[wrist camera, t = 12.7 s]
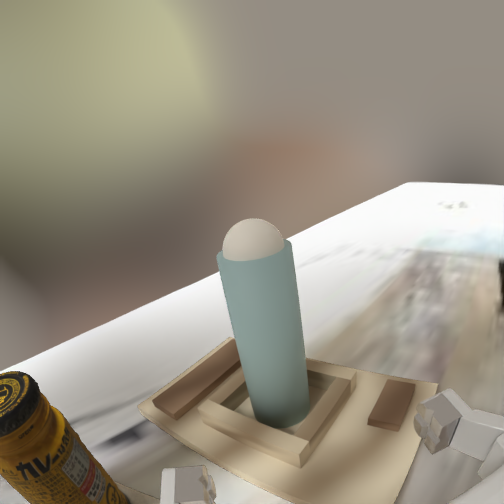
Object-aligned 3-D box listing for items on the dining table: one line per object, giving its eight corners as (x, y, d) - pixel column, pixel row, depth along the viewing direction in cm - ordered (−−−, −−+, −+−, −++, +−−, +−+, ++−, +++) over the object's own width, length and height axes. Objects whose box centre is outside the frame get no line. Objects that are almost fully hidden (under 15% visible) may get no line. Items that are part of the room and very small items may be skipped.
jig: (142, 414, 25) (129, 391, 24) (231, 345, 34) (226, 323, 34) (378, 531, 11) (386, 515, 10) (435, 393, 21) (442, 366, 20)
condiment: (89, 469, 18) (11, 351, 15) (175, 505, 16) (90, 380, 12) (43, 525, 12) (-64, 411, 8) (129, 581, 9) (-12, 483, 5)
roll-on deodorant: (242, 416, 22) (194, 230, 18) (274, 383, 25) (242, 210, 21) (290, 436, 20) (256, 231, 15) (320, 397, 23) (301, 209, 18)
